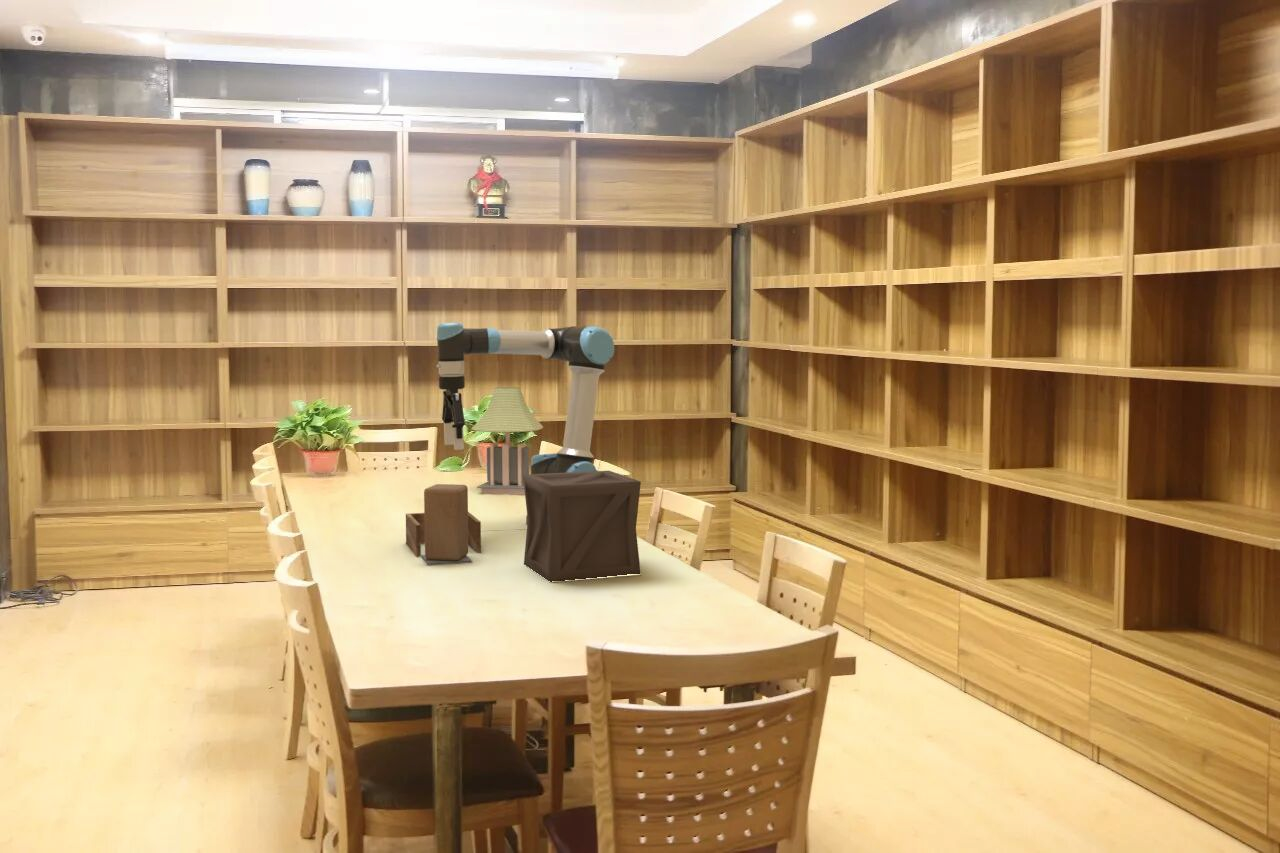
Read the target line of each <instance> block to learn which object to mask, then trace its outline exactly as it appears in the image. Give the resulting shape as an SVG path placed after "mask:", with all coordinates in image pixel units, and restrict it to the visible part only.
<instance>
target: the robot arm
mask: <svg viewBox="0 0 1280 853" xmlns="http://www.w3.org/2000/svg"><path fill="white" fill-rule="evenodd" d="M436 329H437V330H436V331H437V332H436V342H437V360H438V364H436V368H437V369H438V375H440V376H439V377H438V388H439V389H440V390H443V391H442V394H443V399H442V400H443V401H442V415H441V420H442V422H443V435H444V436H443V438H444V439H443V440H444V446H453V450H454V451H458V450H459V451H460V450H461V451H463V450H464V449H465V441H464V438H465V437H464V426H466V422H465V416H464V409H463V407H464V406H463V400H462V398H463V397H462V396H463V395H462V393H461V392H459V390H463V389H465V387H466V385H465V384H466V383H465V380H466V379H465V376H464V375H465V355H481V354H487V355H489V354H496V355H497V354H498V355H523V356H524V355H526V356H527V355H529V356H530V355H531V356H541V357H542V359H552V360H558V361H559V360H560V361H564V362H568V369H569V370H570V371H571V379H570V380H571V382H570V388H569V389H570V390H569V398H568V403H567V404H568V405H567V410H566V411H567V412H566V420H565V428H564V436H563V444H562V448H560V449H559V450H558V451H557V452H555V453H546V454H545V453H543V454H534V455H533V456H531V460H530V465H529V469H530V474H548V473H569V472H589V471H598V469H596V466H595V465H594V455H593V454H592V452H591V451H590V450H591V445H592V444H591V443H592V437H593V436H592V435H593V428H594V420H595V411H596V406H597V405H596V402H597V396H598V388H599V379H600V376H601V375H602V374H603V373H604V372H606V371H605V369H606V364H607V363H608V362H609V361H610V360H611V359H612V358H613V357H614V353H615V342H614V340H613V336H611V335H610V333H609V332H608V331H607V330H606V329H605V328H602V327H598V326H594V325H593V326H590V325H589V326H588V325H587V326H586V325H585V326H584V325H582V326H564V327H557V328H543V329H542V330H541V331H539V330H514V329H513V330H512V329H496V328H489V327H485V328H484V327H483V328H472V327H471V328H468V327H467V328H464V326H463V323H461V322H441V323H439V324H438V325H437V328H436ZM525 517H526V519H525V524H526V525H527V524H528V517H527V515H526V516H525Z"/></svg>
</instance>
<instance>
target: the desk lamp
mask: <svg viewBox="0 0 1280 853" xmlns="http://www.w3.org/2000/svg"><path fill="white" fill-rule="evenodd" d="M543 428H544V426H543V425H542V423H540V421H538V420H537V418H536V417H535V416H534V415H533V414H532V412H531V410H530V409H529V407H528V406H527V403H526V401H525V399H524V396H523V393H522V390H521V387H518V386H516V387H515V386H503V387H502V386H498V387H494V388H493V391H492V395H491V397H490V400H489V403H488V405H487V408H486V410H485V412H483V414H482V416H481V417H480V419H478V421H477V422H476V423H475V424H474V426H472V428H471V431H476V432H485V433H505V443H503V444H501V445H502V446H499V442H498V441H497V442H492V443H490V444H489V446H488V447H486V480H487V482H484V483H482V484H480V485H477V486H476V488H477V489H481V495H501V494H510V496H525V490H524V481H523V475H527V474H530V447H528V446H527V444H526V442H521V443H518V444H517V446H514V442H511V436H510V433H522V432H523V433H526V432H536V431H539V430H542V429H543Z"/></svg>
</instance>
